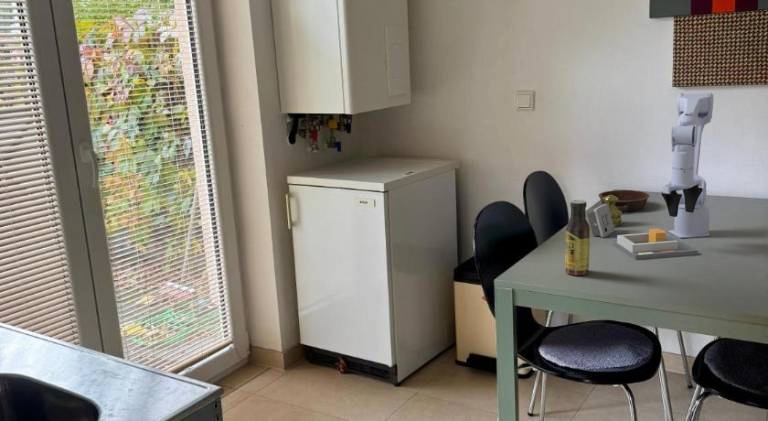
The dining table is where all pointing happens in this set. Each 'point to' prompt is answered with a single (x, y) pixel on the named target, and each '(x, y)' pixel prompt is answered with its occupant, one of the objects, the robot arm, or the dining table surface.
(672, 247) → the grey tray
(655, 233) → the block
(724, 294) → the dining table surface
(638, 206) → the dish
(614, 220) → the salt shaker
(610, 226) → the electrical switch
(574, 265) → the sauce bottle
